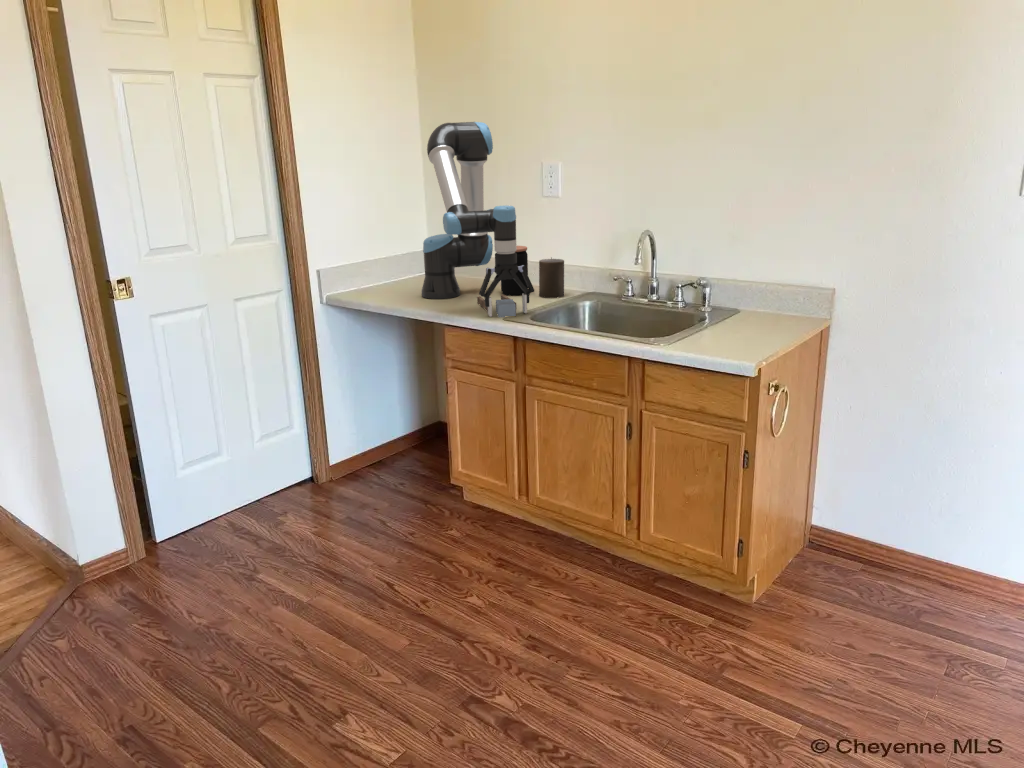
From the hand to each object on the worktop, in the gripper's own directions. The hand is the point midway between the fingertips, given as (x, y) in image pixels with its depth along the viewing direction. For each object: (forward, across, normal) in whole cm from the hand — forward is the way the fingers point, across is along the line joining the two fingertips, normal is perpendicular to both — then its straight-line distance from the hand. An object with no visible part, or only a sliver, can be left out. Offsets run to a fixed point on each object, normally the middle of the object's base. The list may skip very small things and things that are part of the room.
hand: (507, 314), depth 275 cm
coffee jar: (0, -13, -35) cm, 37 cm away
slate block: (0, 0, -1) cm, 1 cm away
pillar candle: (0, -25, -25) cm, 35 cm away
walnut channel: (0, 0, -15) cm, 15 cm away
